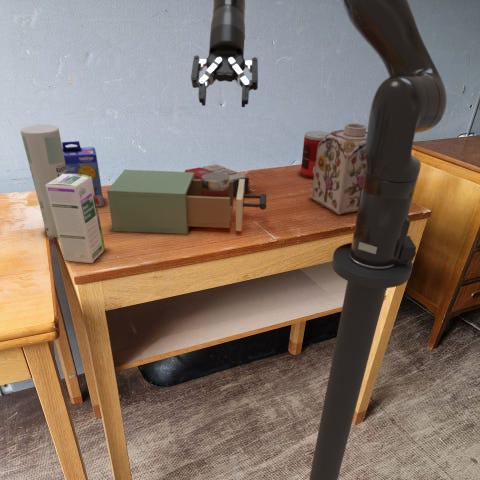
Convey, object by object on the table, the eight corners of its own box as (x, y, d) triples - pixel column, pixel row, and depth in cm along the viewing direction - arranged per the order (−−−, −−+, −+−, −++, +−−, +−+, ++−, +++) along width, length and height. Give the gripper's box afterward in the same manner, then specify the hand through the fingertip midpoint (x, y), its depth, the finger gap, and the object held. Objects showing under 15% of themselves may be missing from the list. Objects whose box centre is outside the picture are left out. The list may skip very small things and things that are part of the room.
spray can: (73, 238, 89) (50, 133, 77) (41, 237, 89) (13, 132, 77) (83, 225, 94) (63, 125, 83) (52, 224, 94) (28, 124, 83)
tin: (230, 208, 99) (230, 172, 94) (228, 219, 94) (228, 181, 89) (203, 207, 99) (203, 171, 94) (200, 218, 94) (199, 180, 89)
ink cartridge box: (60, 210, 100) (45, 144, 92) (60, 202, 105) (45, 137, 96) (104, 206, 103) (94, 141, 95) (103, 198, 107) (93, 135, 99)
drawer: (265, 209, 102) (266, 180, 98) (265, 232, 92) (267, 200, 88) (181, 206, 102) (179, 176, 98) (172, 228, 92) (169, 196, 88)
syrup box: (92, 264, 81) (77, 185, 72) (62, 260, 81) (44, 182, 73) (105, 250, 85) (93, 174, 77) (77, 247, 86) (61, 172, 78)
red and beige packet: (217, 162, 121) (249, 174, 110) (217, 178, 123) (249, 192, 113) (181, 169, 115) (212, 182, 105) (183, 185, 118) (212, 200, 108)
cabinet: (195, 209, 103) (194, 172, 98) (187, 234, 92) (185, 193, 87) (129, 206, 103) (124, 169, 98) (113, 231, 92) (106, 190, 87)
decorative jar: (347, 192, 115) (360, 117, 104) (377, 208, 106) (394, 128, 96) (309, 199, 110) (318, 121, 100) (337, 215, 102) (350, 133, 91)
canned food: (333, 175, 126) (339, 134, 120) (317, 181, 121) (322, 139, 115) (311, 168, 130) (316, 129, 124) (295, 174, 126) (299, 133, 119)
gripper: (192, 21, 93) (187, 91, 90) (260, 23, 93) (257, 93, 90) (196, 48, 100) (192, 113, 98) (259, 50, 100) (256, 116, 97)
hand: (223, 104), depth 94 cm, fingers open, 8 cm apart
